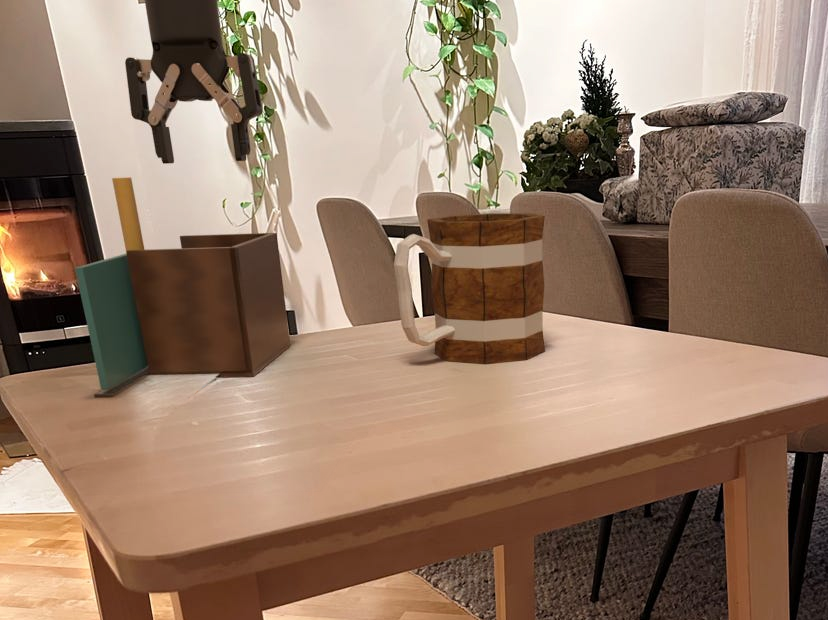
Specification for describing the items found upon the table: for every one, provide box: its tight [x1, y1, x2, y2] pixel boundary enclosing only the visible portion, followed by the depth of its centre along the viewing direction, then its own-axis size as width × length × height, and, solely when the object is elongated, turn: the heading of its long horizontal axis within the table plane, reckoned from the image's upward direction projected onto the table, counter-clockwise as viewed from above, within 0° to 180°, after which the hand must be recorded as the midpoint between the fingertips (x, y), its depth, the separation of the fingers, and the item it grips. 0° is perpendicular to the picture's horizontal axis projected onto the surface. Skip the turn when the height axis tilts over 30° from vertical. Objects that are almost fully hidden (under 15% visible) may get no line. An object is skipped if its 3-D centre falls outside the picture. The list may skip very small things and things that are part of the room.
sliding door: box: [74, 176, 148, 391], centre depth 102 cm, size 2×17×20 cm, turn 177°
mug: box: [393, 212, 546, 365], centre depth 110 cm, size 20×14×15 cm
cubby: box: [93, 232, 291, 399], centre depth 108 cm, size 14×28×14 cm, turn 177°
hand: (204, 162), depth 109 cm, fingers open, 8 cm apart
